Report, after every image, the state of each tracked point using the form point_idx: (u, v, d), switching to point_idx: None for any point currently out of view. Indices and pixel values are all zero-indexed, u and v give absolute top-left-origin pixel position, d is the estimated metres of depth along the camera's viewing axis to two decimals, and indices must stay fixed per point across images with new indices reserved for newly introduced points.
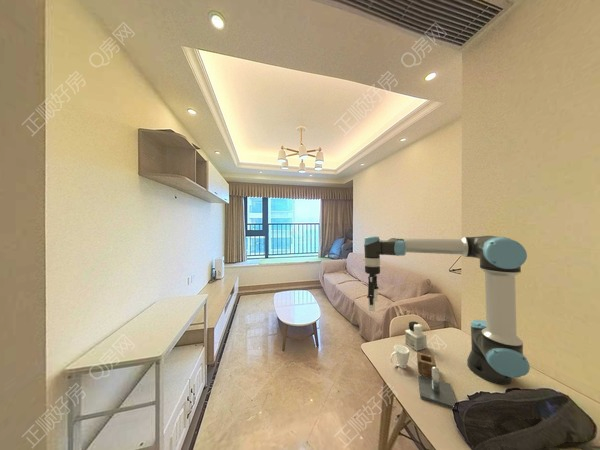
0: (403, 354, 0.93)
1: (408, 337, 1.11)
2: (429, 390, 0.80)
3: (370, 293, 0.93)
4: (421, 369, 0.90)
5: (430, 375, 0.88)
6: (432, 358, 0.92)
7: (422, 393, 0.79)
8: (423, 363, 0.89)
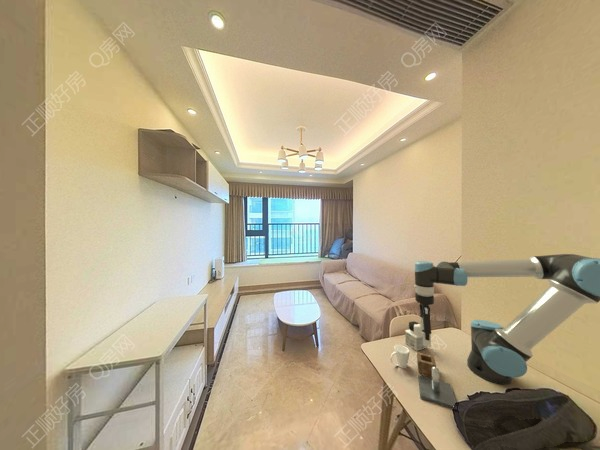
0: (403, 354, 0.93)
1: (408, 337, 1.11)
2: (429, 390, 0.80)
3: (427, 327, 0.84)
4: (421, 369, 0.90)
5: (430, 375, 0.88)
6: (432, 358, 0.92)
7: (422, 393, 0.79)
8: (423, 363, 0.89)
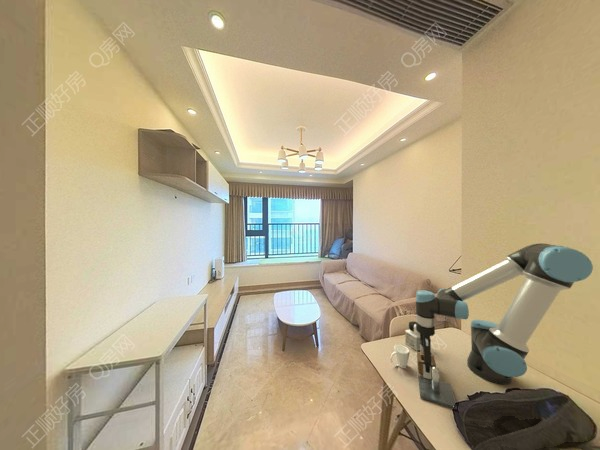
0: (403, 354, 0.93)
1: (408, 337, 1.11)
2: (429, 390, 0.80)
3: (427, 360, 0.84)
4: (421, 369, 0.90)
5: None
6: (432, 358, 0.92)
7: (422, 393, 0.79)
8: None
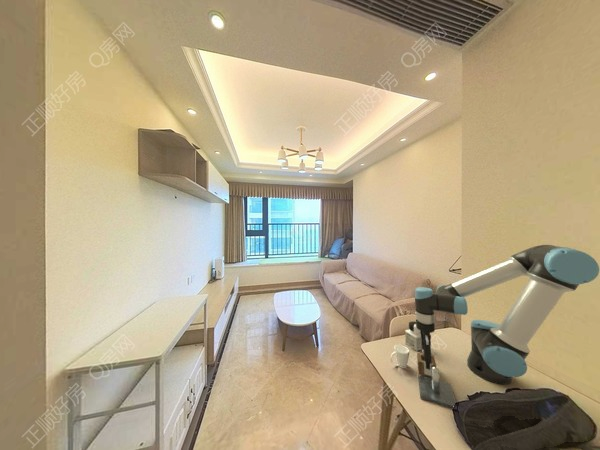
0: (403, 354, 0.93)
1: (408, 337, 1.11)
2: (429, 390, 0.80)
3: (427, 358, 0.86)
4: (421, 369, 0.90)
5: None
6: (433, 358, 0.92)
7: (422, 393, 0.79)
8: (423, 363, 0.89)
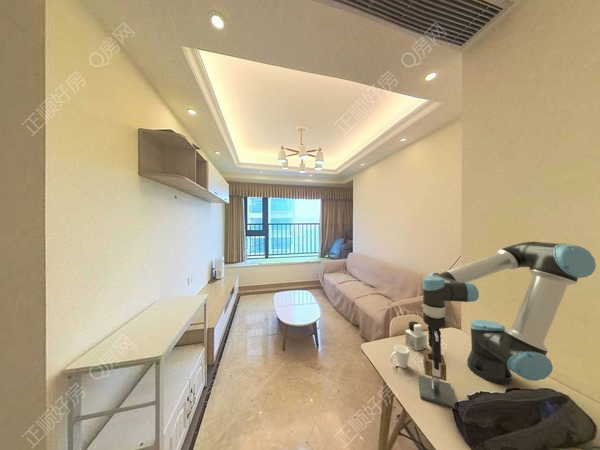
0: (403, 354, 0.93)
1: (408, 337, 1.11)
2: (429, 390, 0.80)
3: (437, 356, 0.74)
4: (428, 369, 0.78)
5: (439, 377, 0.77)
6: (441, 357, 0.80)
7: (422, 393, 0.79)
8: (431, 363, 0.78)
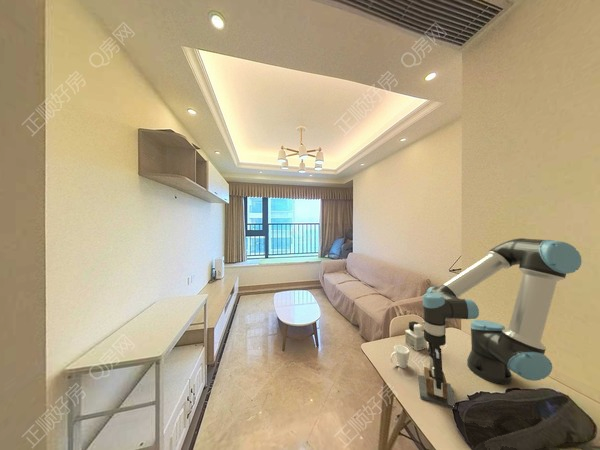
0: (403, 354, 0.93)
1: (408, 337, 1.11)
2: None
3: (438, 375, 0.72)
4: (429, 387, 0.78)
5: None
6: None
7: (422, 393, 0.79)
8: (432, 381, 0.78)
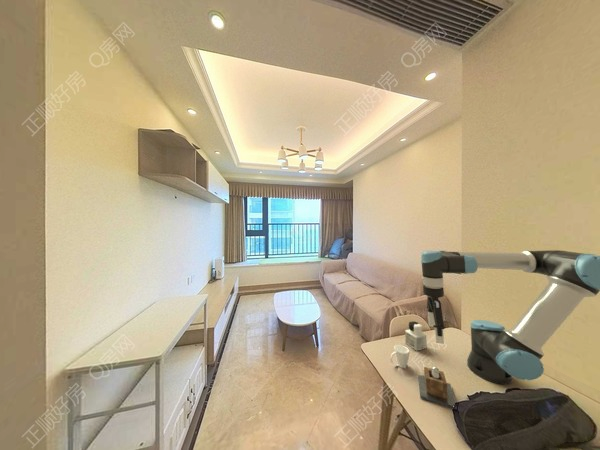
0: (403, 354, 0.93)
1: (408, 337, 1.11)
2: None
3: (439, 322, 0.76)
4: (429, 387, 0.78)
5: (440, 395, 0.77)
6: (442, 374, 0.80)
7: (422, 393, 0.79)
8: (432, 381, 0.78)
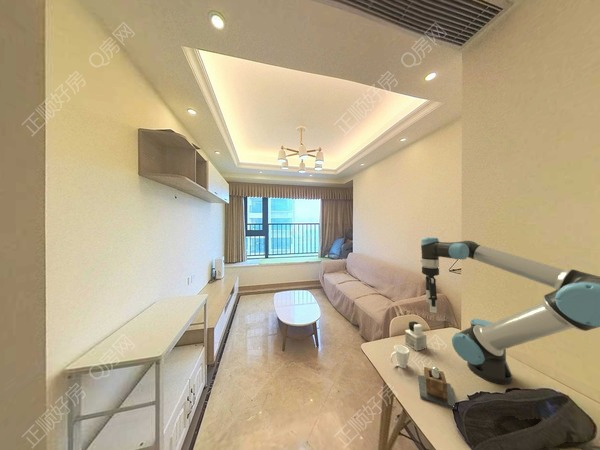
0: (403, 354, 0.93)
1: (408, 337, 1.11)
2: None
3: (433, 295, 0.93)
4: (429, 387, 0.78)
5: (440, 395, 0.77)
6: (442, 374, 0.80)
7: (422, 393, 0.79)
8: (432, 381, 0.78)
